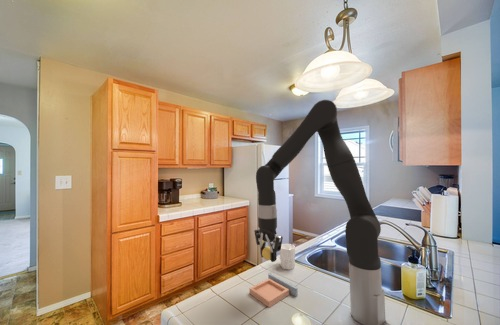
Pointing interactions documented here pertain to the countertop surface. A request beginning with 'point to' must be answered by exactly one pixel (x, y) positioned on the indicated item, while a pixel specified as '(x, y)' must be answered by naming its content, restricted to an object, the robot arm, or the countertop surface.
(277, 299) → the pink square tray
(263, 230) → the robot arm
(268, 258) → the ball
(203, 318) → the countertop surface
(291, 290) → the fence
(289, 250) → the white cup
